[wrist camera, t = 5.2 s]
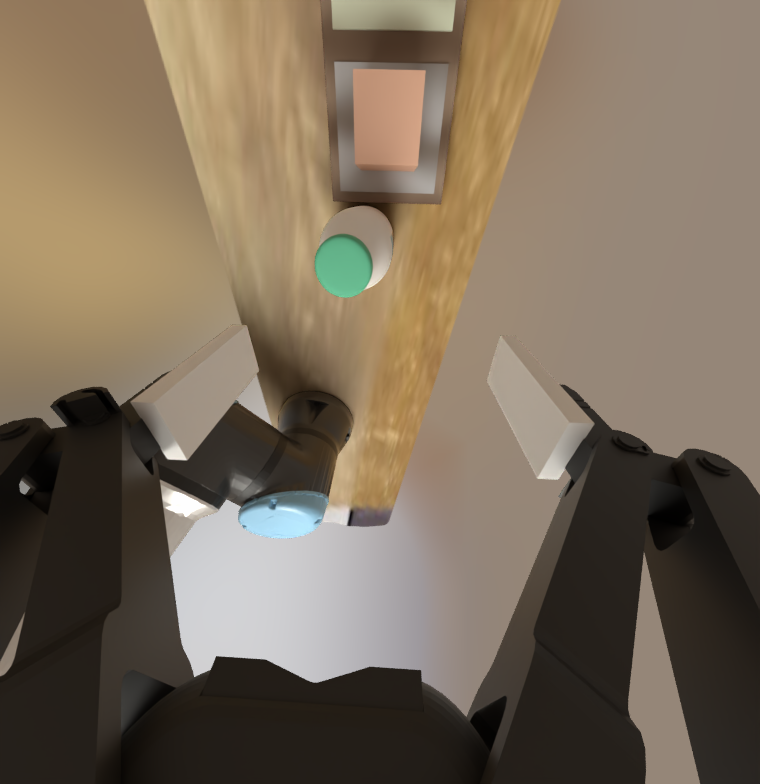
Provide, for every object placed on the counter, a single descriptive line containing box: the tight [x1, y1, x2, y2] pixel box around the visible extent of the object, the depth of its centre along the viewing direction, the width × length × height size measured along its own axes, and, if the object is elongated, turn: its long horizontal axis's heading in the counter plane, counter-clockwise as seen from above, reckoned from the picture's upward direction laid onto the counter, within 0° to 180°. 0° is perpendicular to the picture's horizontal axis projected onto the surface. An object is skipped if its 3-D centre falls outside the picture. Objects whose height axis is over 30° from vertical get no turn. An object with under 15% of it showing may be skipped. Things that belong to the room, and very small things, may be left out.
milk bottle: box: [315, 206, 394, 297], centre depth 29 cm, size 8×8×20 cm
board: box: [321, 0, 467, 204], centre depth 26 cm, size 24×13×3 cm, turn 179°
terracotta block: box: [353, 69, 426, 172], centre depth 26 cm, size 6×6×6 cm
